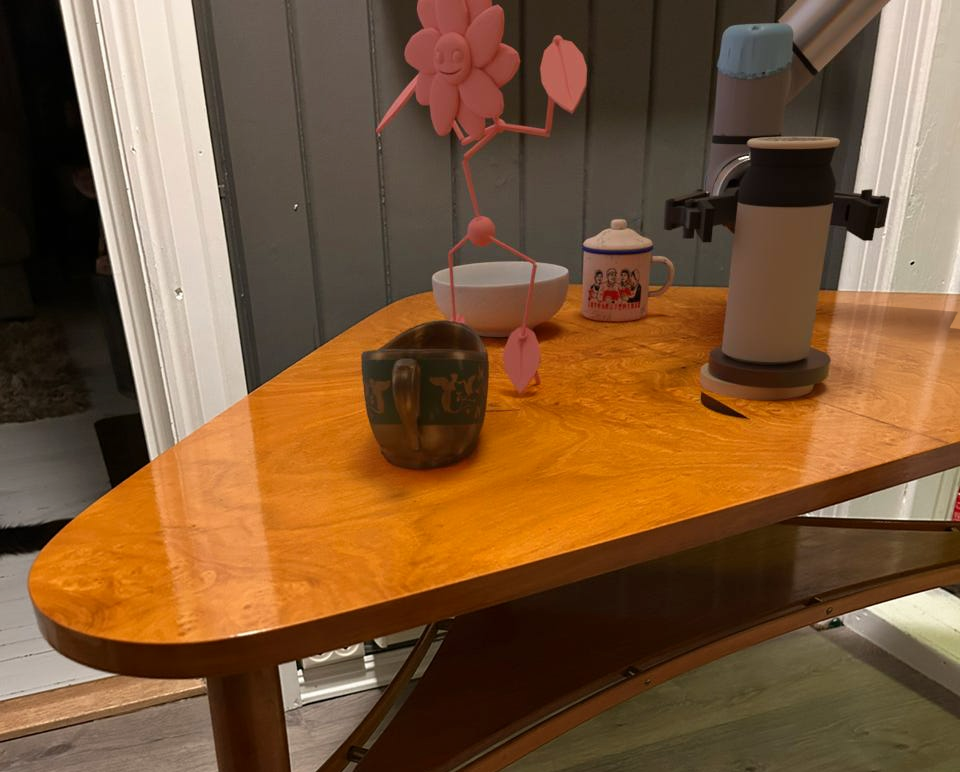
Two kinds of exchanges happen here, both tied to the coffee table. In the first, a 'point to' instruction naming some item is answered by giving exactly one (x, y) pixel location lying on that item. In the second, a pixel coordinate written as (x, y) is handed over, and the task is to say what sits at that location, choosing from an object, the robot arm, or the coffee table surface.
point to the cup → (427, 394)
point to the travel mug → (779, 249)
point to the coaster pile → (759, 379)
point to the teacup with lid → (619, 274)
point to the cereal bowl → (501, 295)
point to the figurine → (483, 115)
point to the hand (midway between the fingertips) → (789, 224)
